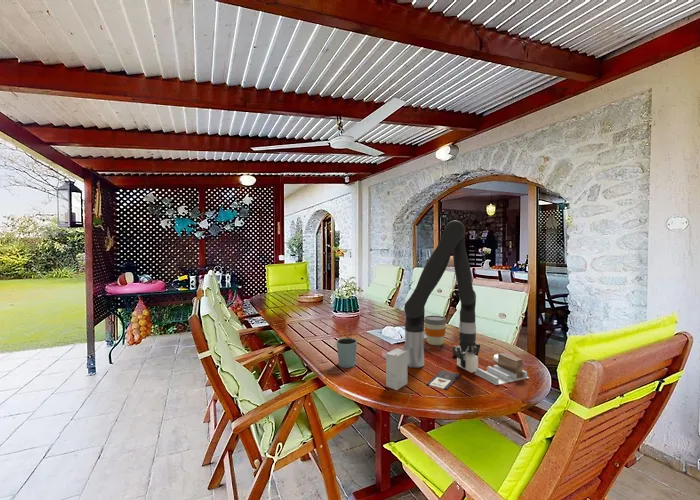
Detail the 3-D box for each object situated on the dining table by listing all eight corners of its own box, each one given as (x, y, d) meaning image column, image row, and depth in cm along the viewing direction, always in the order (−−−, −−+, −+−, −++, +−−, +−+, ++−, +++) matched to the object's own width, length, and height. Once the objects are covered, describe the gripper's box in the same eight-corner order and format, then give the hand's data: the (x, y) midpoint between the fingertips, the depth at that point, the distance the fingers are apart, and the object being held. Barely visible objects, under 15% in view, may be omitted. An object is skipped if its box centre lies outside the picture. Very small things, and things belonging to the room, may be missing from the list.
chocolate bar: (460, 374, 159) (446, 388, 144) (460, 376, 159) (446, 391, 144) (441, 370, 164) (426, 383, 149) (441, 371, 164) (426, 385, 150)
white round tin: (518, 363, 174) (518, 356, 174) (511, 369, 166) (511, 361, 166) (497, 358, 181) (497, 351, 180) (490, 364, 173) (490, 357, 173)
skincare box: (396, 380, 154) (396, 347, 153) (408, 384, 150) (408, 350, 149) (385, 386, 148) (385, 352, 147) (397, 391, 144) (396, 355, 143)
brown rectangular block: (515, 378, 152) (515, 360, 152) (498, 370, 162) (498, 353, 161) (522, 377, 154) (522, 359, 153) (504, 369, 163) (504, 352, 163)
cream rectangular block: (471, 374, 160) (471, 357, 159) (456, 367, 169) (456, 350, 169) (478, 373, 161) (478, 356, 161) (463, 365, 170) (463, 349, 170)
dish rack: (495, 387, 146) (495, 379, 146) (474, 375, 158) (474, 368, 158) (529, 379, 153) (529, 372, 153) (506, 369, 165) (506, 362, 165)
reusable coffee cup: (447, 346, 200) (447, 320, 199) (425, 345, 202) (425, 320, 201) (444, 340, 212) (444, 315, 212) (423, 339, 214) (423, 315, 214)
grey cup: (360, 363, 175) (360, 339, 175) (350, 369, 167) (350, 345, 166) (343, 359, 181) (343, 336, 180) (332, 366, 172) (332, 342, 171)
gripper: (460, 334, 158) (460, 371, 159) (485, 331, 163) (484, 367, 164) (450, 330, 165) (449, 366, 166) (473, 327, 170) (473, 361, 171)
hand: (467, 366), depth 165 cm, fingers closed on cream rectangular block, 4 cm apart
